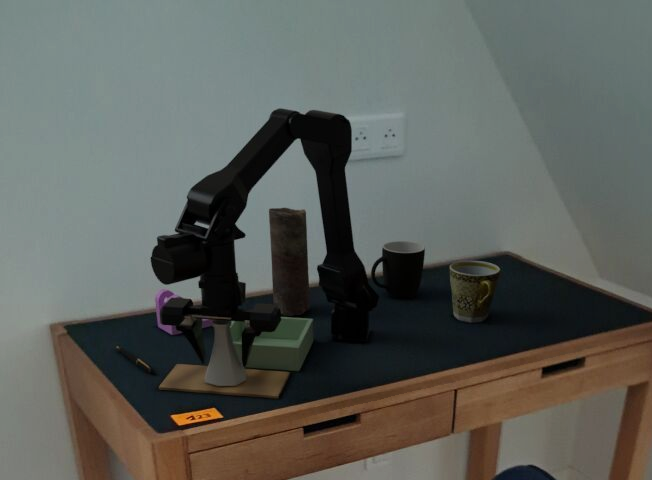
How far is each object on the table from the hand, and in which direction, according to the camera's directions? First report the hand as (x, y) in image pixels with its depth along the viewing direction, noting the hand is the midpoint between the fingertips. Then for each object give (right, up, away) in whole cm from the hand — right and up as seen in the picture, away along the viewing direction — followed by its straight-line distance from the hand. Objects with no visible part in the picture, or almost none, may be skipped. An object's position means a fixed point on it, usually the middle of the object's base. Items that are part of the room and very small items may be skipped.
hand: (224, 364), depth 144 cm
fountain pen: (-17, +2, +8) cm, 19 cm away
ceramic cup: (+45, +15, +31) cm, 57 cm away
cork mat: (0, -3, +2) cm, 3 cm away
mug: (+30, +23, +42) cm, 56 cm away
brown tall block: (+8, +17, +32) cm, 37 cm away
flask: (0, -2, +2) cm, 3 cm away
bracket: (-10, +13, +24) cm, 29 cm away
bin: (+6, +5, +13) cm, 15 cm away
